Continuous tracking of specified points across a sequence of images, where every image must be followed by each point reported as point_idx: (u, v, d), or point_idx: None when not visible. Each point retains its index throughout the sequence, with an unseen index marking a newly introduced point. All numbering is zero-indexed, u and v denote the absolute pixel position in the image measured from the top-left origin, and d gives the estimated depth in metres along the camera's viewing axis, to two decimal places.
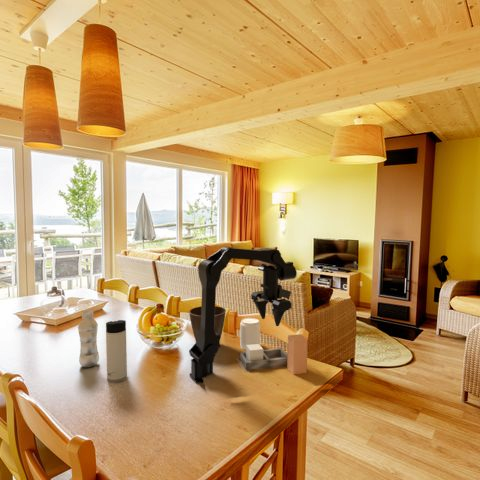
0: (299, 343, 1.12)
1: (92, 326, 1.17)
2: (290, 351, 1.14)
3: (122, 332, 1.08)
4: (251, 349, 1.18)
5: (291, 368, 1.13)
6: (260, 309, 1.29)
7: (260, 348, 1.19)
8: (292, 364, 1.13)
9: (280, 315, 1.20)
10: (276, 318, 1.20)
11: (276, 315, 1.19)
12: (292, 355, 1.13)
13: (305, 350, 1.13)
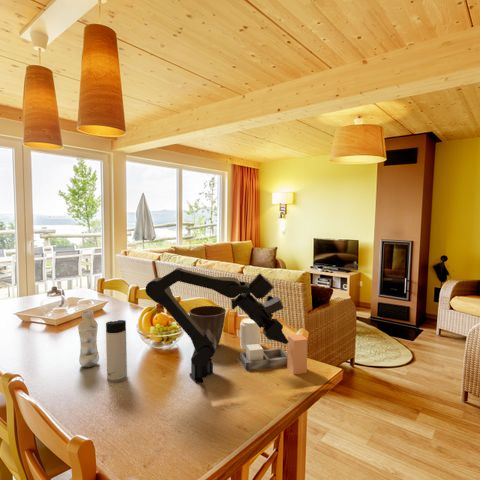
0: (299, 343, 1.12)
1: (92, 326, 1.17)
2: (290, 351, 1.14)
3: (122, 332, 1.09)
4: (251, 349, 1.18)
5: (291, 368, 1.13)
6: None
7: (260, 348, 1.19)
8: (292, 364, 1.13)
9: (281, 335, 1.07)
10: (279, 340, 1.07)
11: (276, 339, 1.07)
12: (292, 355, 1.13)
13: (305, 350, 1.13)
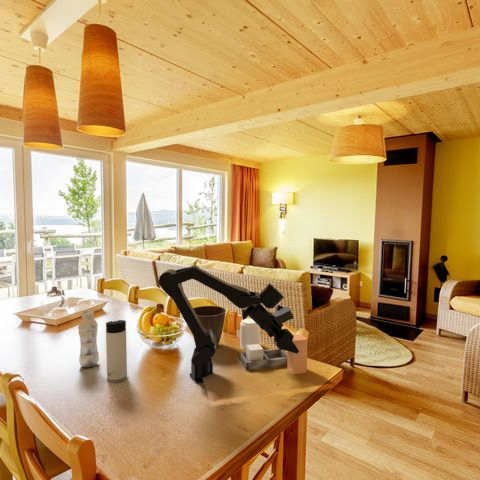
0: (299, 343, 1.12)
1: (92, 326, 1.17)
2: None
3: (122, 332, 1.08)
4: (251, 349, 1.18)
5: (291, 368, 1.13)
6: None
7: (260, 348, 1.19)
8: (292, 364, 1.13)
9: (291, 344, 1.08)
10: (289, 350, 1.08)
11: (286, 349, 1.07)
12: (292, 355, 1.13)
13: (305, 350, 1.13)
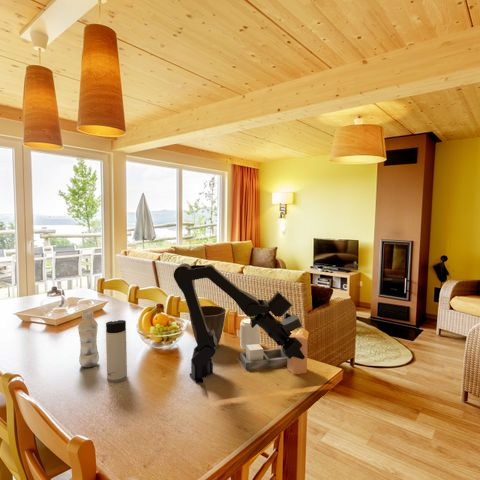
0: None
1: (92, 326, 1.17)
2: None
3: (122, 332, 1.08)
4: (251, 349, 1.18)
5: (291, 368, 1.13)
6: None
7: (260, 348, 1.19)
8: (292, 364, 1.13)
9: (297, 351, 1.11)
10: (295, 356, 1.11)
11: None
12: None
13: (305, 350, 1.13)
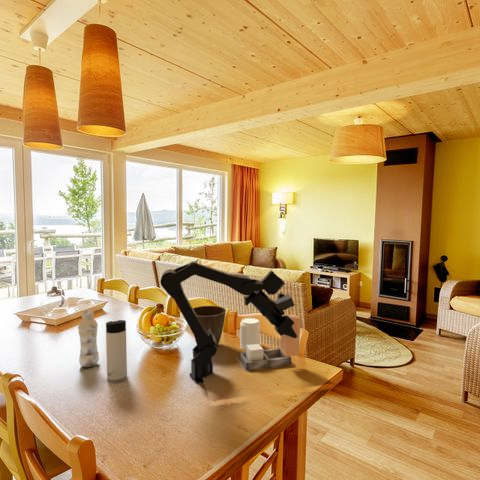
0: None
1: (92, 326, 1.17)
2: None
3: (122, 332, 1.08)
4: (251, 349, 1.18)
5: (284, 347, 1.15)
6: None
7: (260, 348, 1.19)
8: (284, 343, 1.15)
9: (290, 329, 1.12)
10: (288, 334, 1.12)
11: (285, 333, 1.12)
12: None
13: (298, 329, 1.14)
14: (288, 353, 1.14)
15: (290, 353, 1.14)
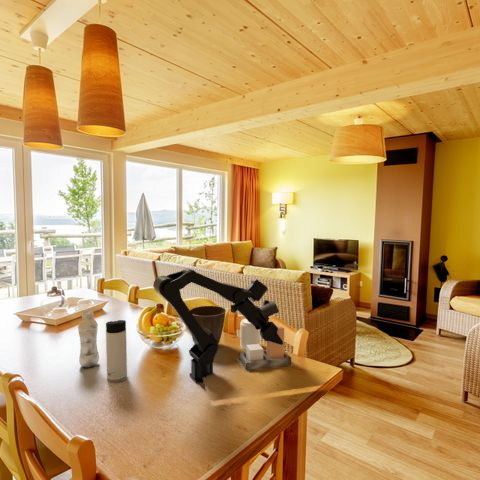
0: None
1: (92, 326, 1.17)
2: None
3: (122, 332, 1.09)
4: (251, 349, 1.18)
5: (269, 355, 1.21)
6: None
7: (260, 348, 1.19)
8: (269, 352, 1.21)
9: (276, 336, 1.16)
10: (274, 341, 1.16)
11: (271, 340, 1.16)
12: (270, 343, 1.20)
13: (282, 338, 1.20)
14: None
15: None
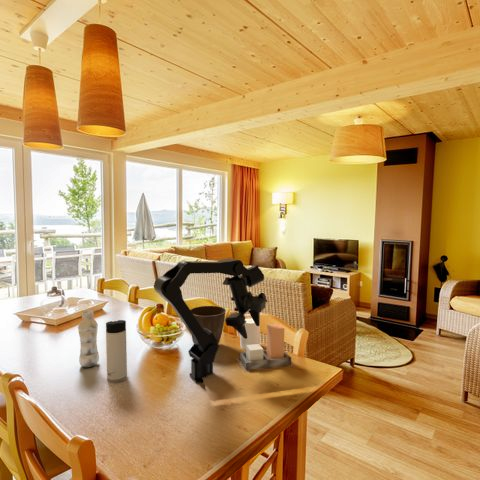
0: (276, 332, 1.19)
1: (92, 326, 1.17)
2: (268, 339, 1.22)
3: (122, 332, 1.08)
4: (251, 349, 1.18)
5: (269, 355, 1.21)
6: (252, 316, 1.25)
7: (260, 348, 1.19)
8: (269, 352, 1.21)
9: (241, 329, 1.15)
10: (238, 331, 1.16)
11: (235, 328, 1.16)
12: (270, 343, 1.20)
13: (282, 338, 1.20)
14: None
15: None
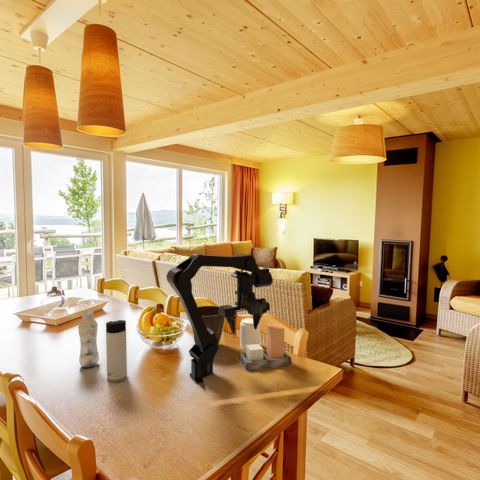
0: (276, 332, 1.19)
1: (92, 326, 1.17)
2: (268, 339, 1.22)
3: (122, 332, 1.08)
4: (251, 349, 1.18)
5: (269, 355, 1.21)
6: (253, 317, 1.23)
7: (260, 348, 1.19)
8: (269, 352, 1.21)
9: (231, 322, 1.16)
10: (229, 323, 1.18)
11: (227, 320, 1.18)
12: (270, 343, 1.20)
13: (282, 338, 1.20)
14: None
15: None
